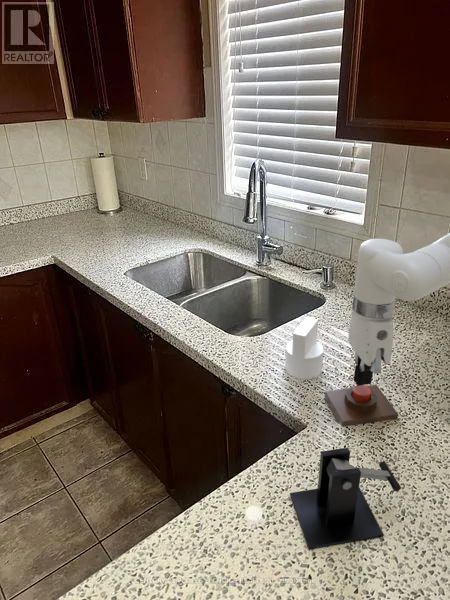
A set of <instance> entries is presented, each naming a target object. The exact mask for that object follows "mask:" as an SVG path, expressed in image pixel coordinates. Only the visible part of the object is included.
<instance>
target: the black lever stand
mask: <svg viewBox="0 0 450 600" xmlns="http://www.w3.org/2000/svg"><path fill="white" fill-rule="evenodd" d="M350 457H351V451H350V449H349V447H343V448H337V449H335V448H334V449H327V450H322V451H320V457H319V468H318V479H317V488H313V489H306V490H299V491H293V492H289V496H290V500H291V502H292V506H293V508H294V511H295V514H296V517H297V520H298V523H299V526H300V529H301V532H302V535H303V538H304V540H305V544H306V548H307V549H308V550H309V551H310V550H316V549H322V548H327V547H333V546H338V545H339V546H340V545H345V544H349V543H356V542H361V541H367V540H374V539H380V538H383V537H384V536H385V534H384V532H383V530H382V528H381V526H380V524H379V522H378V520H377V519H376V517H375V514H374V513H373V511H372V509H371V507H370V505H369V503H368V501H367V499H366V497H365V495H364V493H363V492H362V489H361V488H360V487H361V486H360V483H361V478H360V477H361V471H360V469H359V468H360V467H358V468H353V469H346V470H339V471H333V472H330V477H329V475H328V473H327V471H326V469H327V467H328V465H329V463H330V461H331V459H332V458H334V459H342V460H348V462H349V463H350Z"/></svg>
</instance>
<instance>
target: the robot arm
mask: <svg viewBox="0 0 450 600" xmlns="http://www.w3.org/2000/svg"><path fill="white" fill-rule="evenodd" d="M357 253H358V254H357V262H356V271H355V280H354V289H353V295H352V296H353V297H352V304H351V305H352V306H351V316H350V321H349V327H348V343H349V345H350V346H351V348H352V349H353V351H354V363H355V366H354V373H353V382H354V383H355V386H360V385H364V386H369V385H372V381H373V375H374V374H375V375H376V374H381V373H382V362H383V363H384V364H385V365H389V364H390V363H391V360H392V352H393V344H394V319H393V316H394V311H395V305H396V299H399V300H401V301H405V302H417V301H419V300H421V299H423V298H425V297H427V296H429V295H430V294H432V293H434V292H435V291H437V290H439V289H441V288H444V287H445V286H447V285H449V284H450V232H449V233H447V234H445V235H444V236H442V237H441V238H439V239H438V240H436V241H434V242H432V243H430V244H428V245H426V246H424V247H420V248H419V249H416V250H415V251H412V252H408V253H404V249H403V247H402V245H401V244H400V243H398V242H396V241H395V240H392V239H387V238H371V239H367V240H365V241H363V242H362V243H361V244H360V246H359V248H358V252H357Z"/></svg>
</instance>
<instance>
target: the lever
mask: <svg viewBox="0 0 450 600" xmlns="http://www.w3.org/2000/svg"><path fill="white" fill-rule="evenodd" d="M378 466H379V468H380V469H375V468H364V467H358V466H357V467H356V466H352V465H351V464H350V461H349V462H348V460H342V459H334V458H332V459H331V461H330V463H329V465H328V467H327V469H326V471H327V473H328V475H329V477H330V472H333V471H339V470H346V469H353V468H359V469H360V471H361V477H360V479H370V480H380V481H388V484H389V485H390V487H391V488H392V490H393V491H394V492H399V491H400V490H401V489H402V486H401V485H400V483H399V481H398V480H397V478H396V477H395V475H394V473H393V472H392V470H391V468H390V467H389V465H388V464H387V462H386V461H384V460H383V461H380V462H379V463H378Z"/></svg>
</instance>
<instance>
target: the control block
mask: <svg viewBox="0 0 450 600" xmlns="http://www.w3.org/2000/svg"><path fill="white" fill-rule="evenodd" d="M355 386H356V385H353V386H352V385H351V386H350V387H346V388H338V389H330V390H325V391H324V401H325V402H326V404H327V406H328V408H329V409H330V411H331V413H332V415H333V417H334V419H335V420H336V423H337V424H340V425H341V427H348V426H356V425H362V424H369V423H376V422H384V421H385V422H386V421H392V420H398V419H399V413H398V411H397V410H396V408H395V407H394V406H393V405H392V404H391V402H390V401H389V399H388V398H387V396H386V395H385V394H384V392H383V391H382V390H381V388H379V386H378V385H377V384H368V385H365V386H366V387H368V388H369V389H370V390H371V395H370V400H369V401H367V402H360V401H357V400H355V399H354V398H353V396H352V394H353V388H354V387H355Z"/></svg>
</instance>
